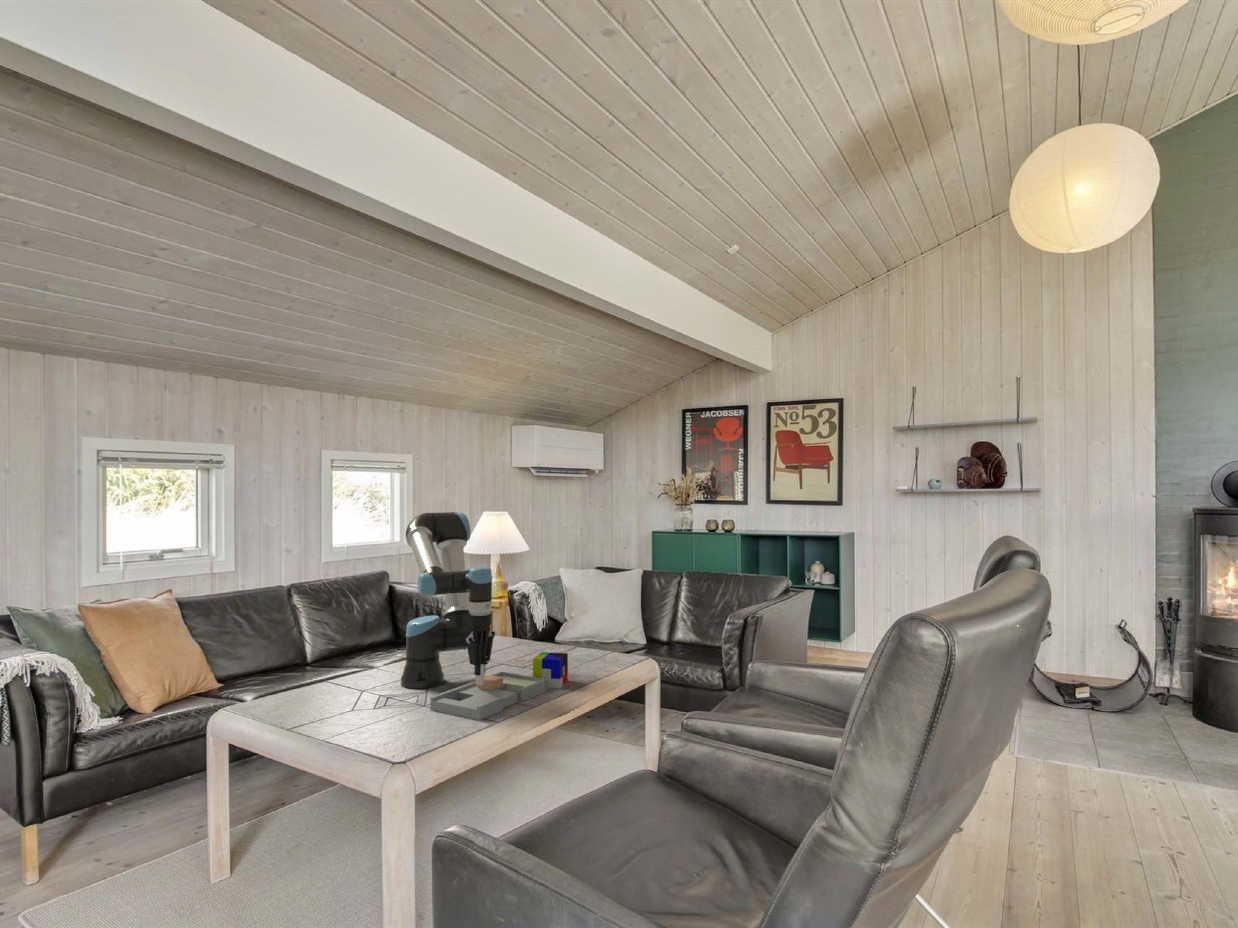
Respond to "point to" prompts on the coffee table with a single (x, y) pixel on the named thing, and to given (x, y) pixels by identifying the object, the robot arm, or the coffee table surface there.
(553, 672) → the puzzle toy
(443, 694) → the trap box
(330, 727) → the coffee table surface
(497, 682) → the block
